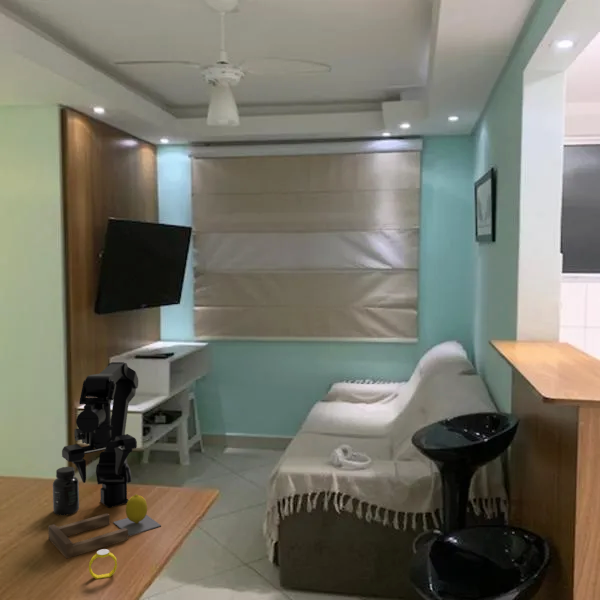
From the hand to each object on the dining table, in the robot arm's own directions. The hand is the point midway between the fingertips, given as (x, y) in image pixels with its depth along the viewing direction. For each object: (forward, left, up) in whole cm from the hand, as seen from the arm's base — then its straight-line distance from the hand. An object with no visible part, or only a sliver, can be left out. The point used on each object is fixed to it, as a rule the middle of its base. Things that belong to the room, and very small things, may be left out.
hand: (100, 478), depth 166 cm
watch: (+11, +28, -12) cm, 32 cm away
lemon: (-7, +8, -12) cm, 16 cm away
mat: (-7, +8, -12) cm, 16 cm away
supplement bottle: (+5, -13, -12) cm, 19 cm away
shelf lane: (+6, +8, -12) cm, 16 cm away
